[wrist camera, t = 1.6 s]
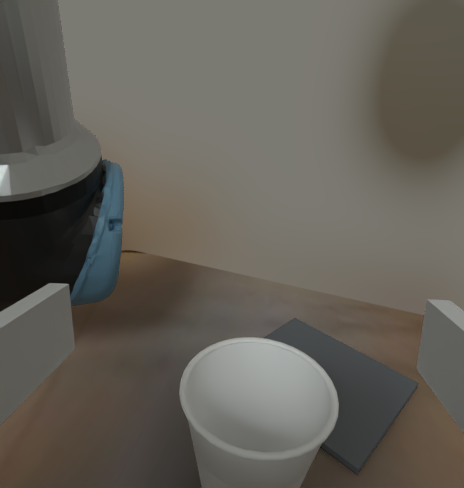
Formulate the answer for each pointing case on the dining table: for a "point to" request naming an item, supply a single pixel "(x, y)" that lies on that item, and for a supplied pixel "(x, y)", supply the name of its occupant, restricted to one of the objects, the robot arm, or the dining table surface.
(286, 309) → the dining table surface
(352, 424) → the mat
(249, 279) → the dining table surface
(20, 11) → the robot arm
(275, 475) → the cup
